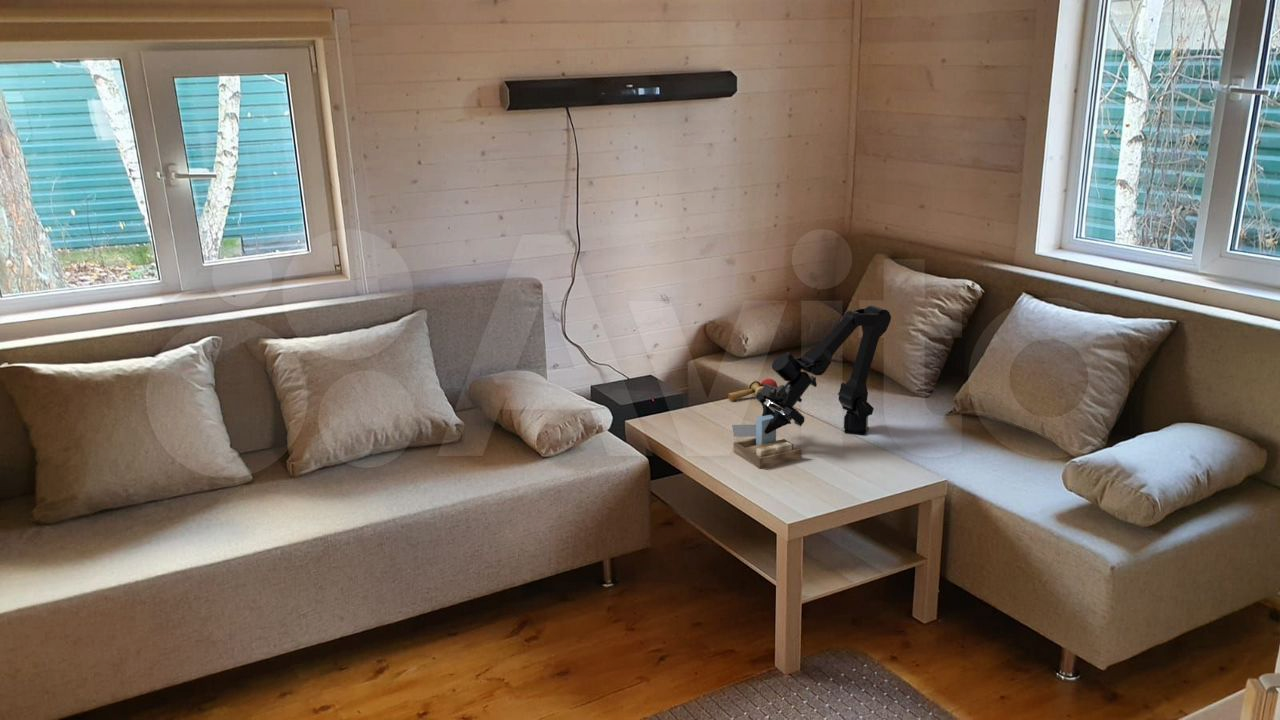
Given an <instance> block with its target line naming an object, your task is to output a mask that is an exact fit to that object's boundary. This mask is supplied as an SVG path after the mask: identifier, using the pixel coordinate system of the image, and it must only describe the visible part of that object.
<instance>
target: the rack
mask: <svg viewBox="0 0 1280 720" xmlns="http://www.w3.org/2000/svg"><path fill="white" fill-rule="evenodd" d="M784 442H789V443H790V444H792V450H790V451H786V452H781V453H777V454H773V455H769V456H764V457H759V456H757V455H756V449H758V448H762V447H766V446H773V445H776V444H780V443H784ZM802 452H803V448H795V449H794V443H792V442H791V441H788V440H786V439H785V438H782V439H778V440H776V441H773V442H769V443H764V444H760V445H756V437H753V438H748V439H744V440H739V441H735V442H733V453H734V454H735V455H737V456H739V457H740V458H742V459H743V460H744V461H746V462H748V463H750V464H751V465H753V466H754V467H755V468H758V469H759V470H761V469H764V468H768V467H769V468H770V467H773V466H777V465H781V464H786V463H789V462H790V463H791V462H794V461H795V462H796V461H798V460H802V459H803V458H802V457H803V456H802V455H803V454H802Z"/></svg>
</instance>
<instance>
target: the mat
mask: <svg viewBox="0 0 1280 720" xmlns="http://www.w3.org/2000/svg"><path fill="white" fill-rule="evenodd" d="M731 428H732V433H733V437H734V438H735V437H737V438H740V437H741V438H743V437H745V438H746V437H753V438H755V437H756V424H732V425H731Z"/></svg>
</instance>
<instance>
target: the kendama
mask: <svg viewBox="0 0 1280 720" xmlns="http://www.w3.org/2000/svg"><path fill="white" fill-rule="evenodd" d="M777 383H778V382H777V381H776V380H774V379H773V378H765V379H763V380H762V381H761V382H760V381H758V380H757V379H755V380H752V381H750V382H749V383H748V385H747V388H748V389H742V390H738V391H734V392H733V391H732V392H729V393H727V398H728V401H729V402H734V401H736V400H739V399H742V398H745V397H747V396H749V395H752V394H754V397H755V396H756V395H757V394H758V393H759V392H762V390H763V387H764V384H768V385H771V386H774V387H776V388H777V387H778V384H777Z"/></svg>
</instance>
